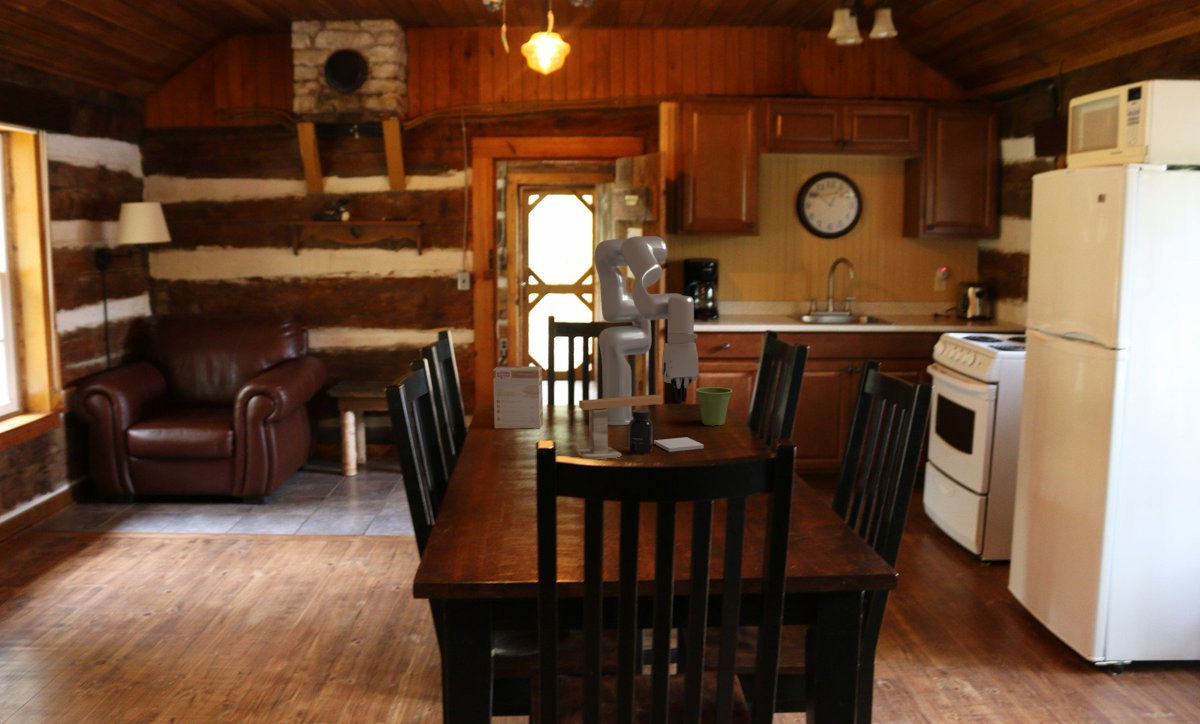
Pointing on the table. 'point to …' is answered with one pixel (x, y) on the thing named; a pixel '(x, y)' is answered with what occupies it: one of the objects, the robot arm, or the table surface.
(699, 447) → the grey mat
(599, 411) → the stand
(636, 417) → the supplement bottle
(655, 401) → the strap bar
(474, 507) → the table surface
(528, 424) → the coffeecake box
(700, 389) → the plant pot
